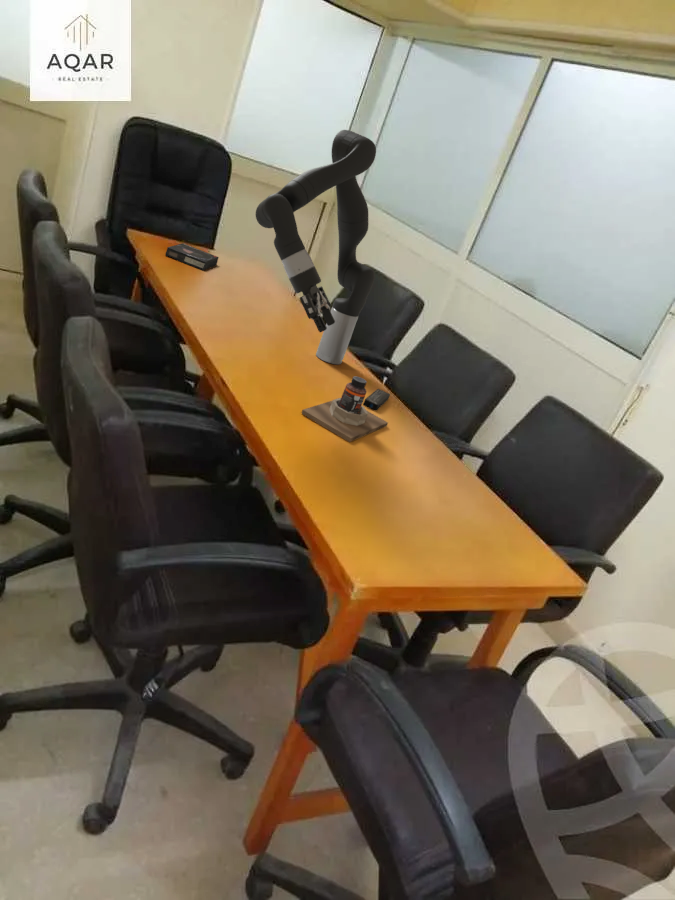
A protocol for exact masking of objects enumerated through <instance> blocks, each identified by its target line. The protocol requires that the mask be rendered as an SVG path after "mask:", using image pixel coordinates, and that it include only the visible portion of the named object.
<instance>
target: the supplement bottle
mask: <svg viewBox="0 0 675 900" xmlns="http://www.w3.org/2000/svg"><path fill="white" fill-rule="evenodd" d="M367 383H368V382H367V380H366V379H364V378H362V377H360V376H352V379H351V382H348V383H346V385H345V388H344V389H343V392H342V395H341V397H340V398H341V400H340V402H339V405H338V407H340V408H342V409H344V410H345V411H347V412H350V413H354V414H358V413H359V410H360V408H361V406H363V403H364V401H365V399H366V398H365V397H366V394H367V389H366V385H367Z"/></svg>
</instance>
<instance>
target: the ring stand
mask: <svg viewBox="0 0 675 900" xmlns="http://www.w3.org/2000/svg"><path fill="white" fill-rule="evenodd" d="M340 400H341V397H338V398H335V399H332V400H329V401H326V402H323V403H320V404H317V405H314V406H311V407H307V408H304V409H302V410H301V413H302V414H303V416H304V415H305V416H304V417H306V416H307V417H306V418H307V419H309V418H310V420H311V419H312V420H311V421H313V422H314V421H315V422H314V423H316V424H318V425H319V426H322V427H323V428H324V429H327V430H329V431H330V432H331V433H333V434H335V435H336V436H338V437H340V438H341V439H343V440H345V441H346V442H349V443H351V442H354V441H355V440H358V439H361V438H363V437H365V436H367V435H369V434H372V433H374V432H377V431H378V430H381V429H384V428H386V427H387V426H388V424H389V422H387V421H386V420H384V419H383V418H381V417H379V416H378V415H376V414H374V413H372V412H370V411H368V410H367V409H366V408H365V407H366V406H364V405H361V408H360V410H359V413H358V414H354V413H350V412H347V411H345V410H344V409H342V408H340V407H338V405H339V402H340ZM302 414H301V415H302Z"/></svg>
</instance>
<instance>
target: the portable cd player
mask: <svg viewBox="0 0 675 900" xmlns="http://www.w3.org/2000/svg"><path fill="white" fill-rule="evenodd" d="M164 254H165V255H166V256H165V255H164V256H165V257H167V256H169V257H168V258H170V257H172V258H174V259H173V260H175V259H176V260H175V261H177V260H178V262H181V263H182V262H183V264H185V265H187V266H190V267H193V268H196V269H198V270H200V271H205V270H207V269H210V267H211V268H212V267H216V266H217V264H218V262H219V256H217V255H214V254H211V253H209V252H207V251H204V250H201V249H199V248H196V247H193V246H191V245H188V244H186V243H177V244H175V245H171V246H168V247H167V248H166V251H165V253H164ZM172 258H171V259H172ZM215 265H216V266H215Z"/></svg>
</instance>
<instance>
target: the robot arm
mask: <svg viewBox="0 0 675 900" xmlns="http://www.w3.org/2000/svg"><path fill="white" fill-rule="evenodd" d="M376 147H377V146H376V145H375V143H374V141H373V140H371V139H370V138H369V137H367V136H364V135H361V134H359V133H357V132H355V131H353V130H350V129H349V130H348V129H341V130H340V131H338V132H337V133H336V135H335V136H334V138H333V141H332V144H331V162H332V163H330V164H326V165H323V166H318V167H313V168H310V169H308V170H305V171H303V172H301V173H300V174H299V175H297V176H296V177H294V178H293V179H291V180H290V181H289V182H288V183H286V184H285V185H284V186H283V187H282V188H281V189H280V190H279V191H276V192H275V193H272V194H270V195H268V196H267V197H266V198H265V199H263V200H262V201H261V202H260V203H259V204H258V205H257V207H256V209H255V219H256V222H257V223H258V224H259V225H260V226H261V227H263V228H265V229H273V230H274V233H275V237H274V239H273V245H274V247H275V250H276V252H277V255H278V257H279V258H280V261H281V263H282V265H283V269H284V271H285V273H286V275H287V278H288V280H289V282H290V284H291V286H292V288H293V290H294V292H295V293H296V294H300V293H302V296H300V297H299V300H300V302H301V304H302V307H303V309H304V311H305V314H306V316H307V318H308V319H309V320H310V319H311V320H312V321H313V323H314V325H315V326H316V328H317V331H318V332H319V333H322V335H321V338H320V341H319V344H318V347H317V350H316V353H315V356H316V357H317V358H319V359H320V360H322V361H324V362H326V363H329V364H332V365H341V364H342V363H343V361H342V360H344V357H345V355H346V352H347V350H348V346H349V345H350V341H351V339H352V335H353V333H354V329H355V327H356V323H357V321H358V319H359V315H360V313H361V312H362V310H363V308H364V307H365V305H366V302H367V300H368V298H369V295H370V293H371V291H372V287H373V285H374V282H375V277H376V276H375V271H374V269H372V268H371V267H368V266H367V265H365V264H363V263H361V262H359V261H358V260H357V253H356V252H357V247H358V245H359V244H360V243H361V242H362V241H363V239H364V238H365V237H366V235H367V233H368V230H369V206H368V204H367V203H368V202H367V200H366V198H365V196H364V194H363V191H362V189H361V187H360V185H359V183H358V181H357V176H359V175H361V174H362V173H365V172H366V171H367V170H369V169H370V167H371V166H372V165H373V163H374V161H375V159H376V155H377V148H376ZM334 187H335V191H336V205H337V206H336V207H337V209H336V210H337V212H336V213H337V214H336V217H337V229H338V231H337V233H338V256H337V257H338V258H337V260H338V261H337V282H338V283H339V285H340V286H341V287H342V288H344V289H346V290H348V291H349V292H350V295H349V297H348V298H347V297H346V298H345V297H344V298H343V297H337V298H335V299H334V300H333V303H332V305H331V302H330V300H329V298H328V295H327V294H326V292H325V289H324V288H323V286H319V287H318V286H317V285H318V284H320V283H321V282H322V279H321V277H320V275H319V272H318V271H317V269H316V265H315V264H314V261H313V259H312V257H311V256H310V254H309V253H308V251H307V249H306V247H305V244H304V242H303V240H302V238H301V237H300V235H299V231H298V225H297V221H296V217H295V212H296V211H298V210H300V209H301V208H303V207H305V206H307V205H309V203H310V202H312V201H313V200H315V199H316V198H318V196H321V195H322V194H324V193H325V192H326V191H328V190H330V189H332V188H334ZM331 306H332V307H331Z"/></svg>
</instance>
